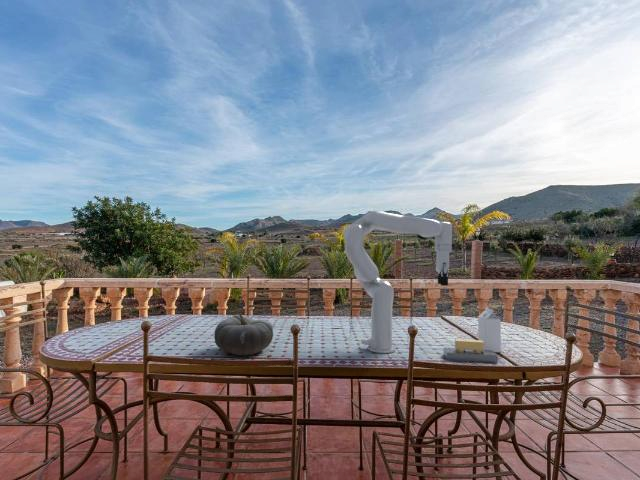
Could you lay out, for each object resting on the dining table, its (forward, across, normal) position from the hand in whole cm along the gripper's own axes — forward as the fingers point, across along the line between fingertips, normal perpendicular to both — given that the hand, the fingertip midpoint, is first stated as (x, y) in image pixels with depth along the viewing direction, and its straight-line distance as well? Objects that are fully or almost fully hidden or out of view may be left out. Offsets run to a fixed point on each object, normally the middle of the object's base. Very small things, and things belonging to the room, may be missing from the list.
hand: (442, 284), depth 173 cm
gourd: (+31, +26, -87) cm, 96 cm away
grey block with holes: (+30, +15, +9) cm, 34 cm away
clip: (+30, +15, +9) cm, 34 cm away
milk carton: (+30, -1, +21) cm, 36 cm away
